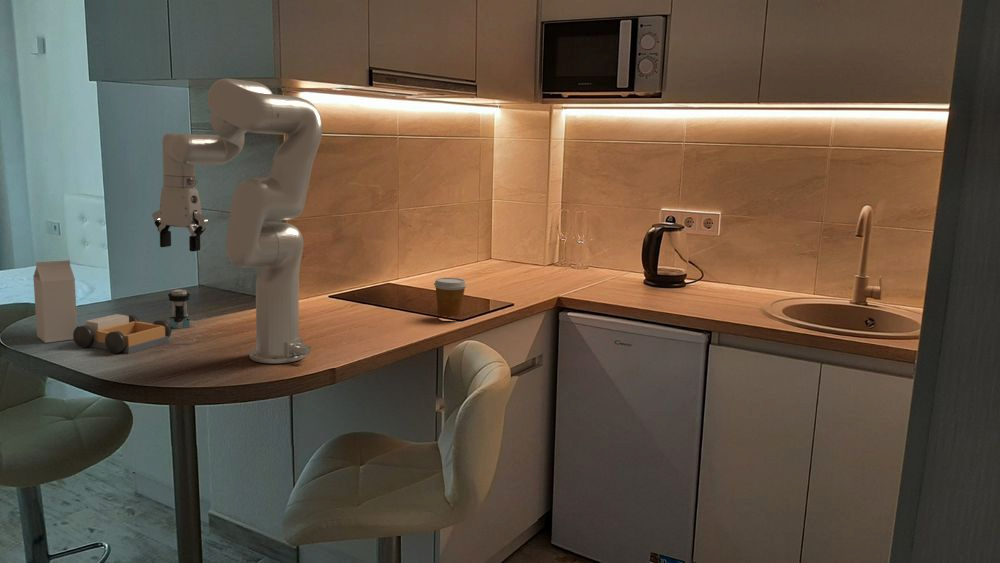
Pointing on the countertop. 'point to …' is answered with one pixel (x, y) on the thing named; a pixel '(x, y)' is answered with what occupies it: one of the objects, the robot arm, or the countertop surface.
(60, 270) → the milk carton
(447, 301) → the disposable coffee cup
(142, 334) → the chassis
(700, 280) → the countertop surface
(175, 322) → the push button
